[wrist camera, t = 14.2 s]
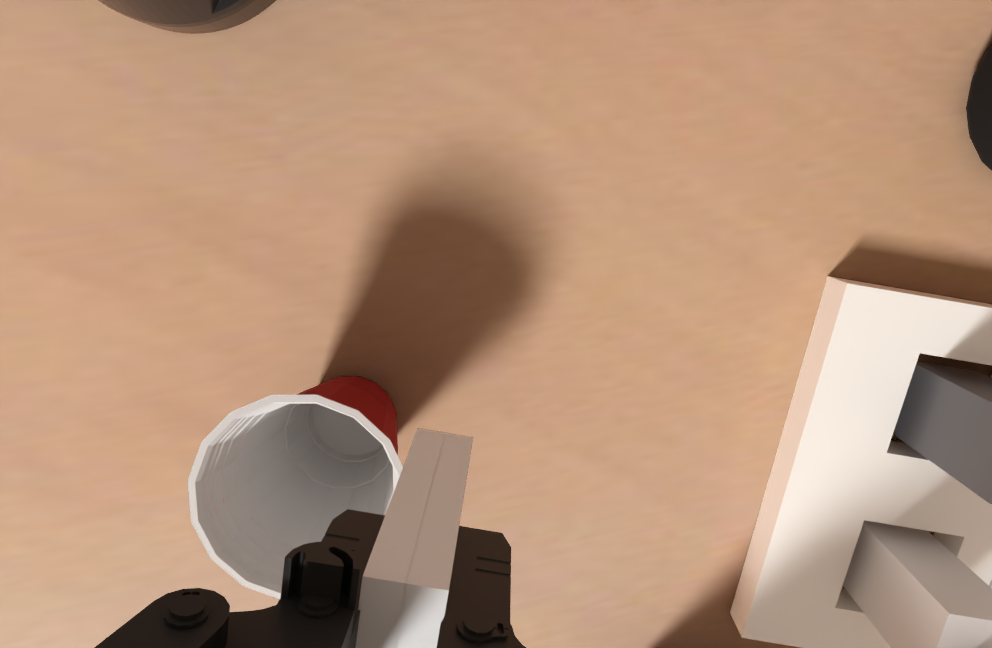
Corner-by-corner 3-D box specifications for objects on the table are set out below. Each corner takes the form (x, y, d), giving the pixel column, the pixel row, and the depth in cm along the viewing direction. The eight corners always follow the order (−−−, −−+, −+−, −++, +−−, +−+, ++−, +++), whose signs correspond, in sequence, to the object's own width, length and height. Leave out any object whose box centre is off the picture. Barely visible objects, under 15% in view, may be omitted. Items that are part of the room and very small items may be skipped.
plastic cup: (469, 393, 43) (452, 478, 31) (383, 517, 45) (336, 640, 34) (325, 301, 42) (251, 354, 30) (243, 433, 44) (146, 530, 33)
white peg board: (827, 276, 41) (958, 323, 29) (1100, 322, 41) (1344, 389, 29) (729, 612, 46) (804, 771, 34) (969, 652, 47) (1127, 824, 34)
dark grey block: (904, 358, 42) (1022, 418, 32) (976, 371, 42) (1115, 433, 32) (882, 426, 43) (989, 503, 33) (952, 438, 43) (1080, 519, 33)
